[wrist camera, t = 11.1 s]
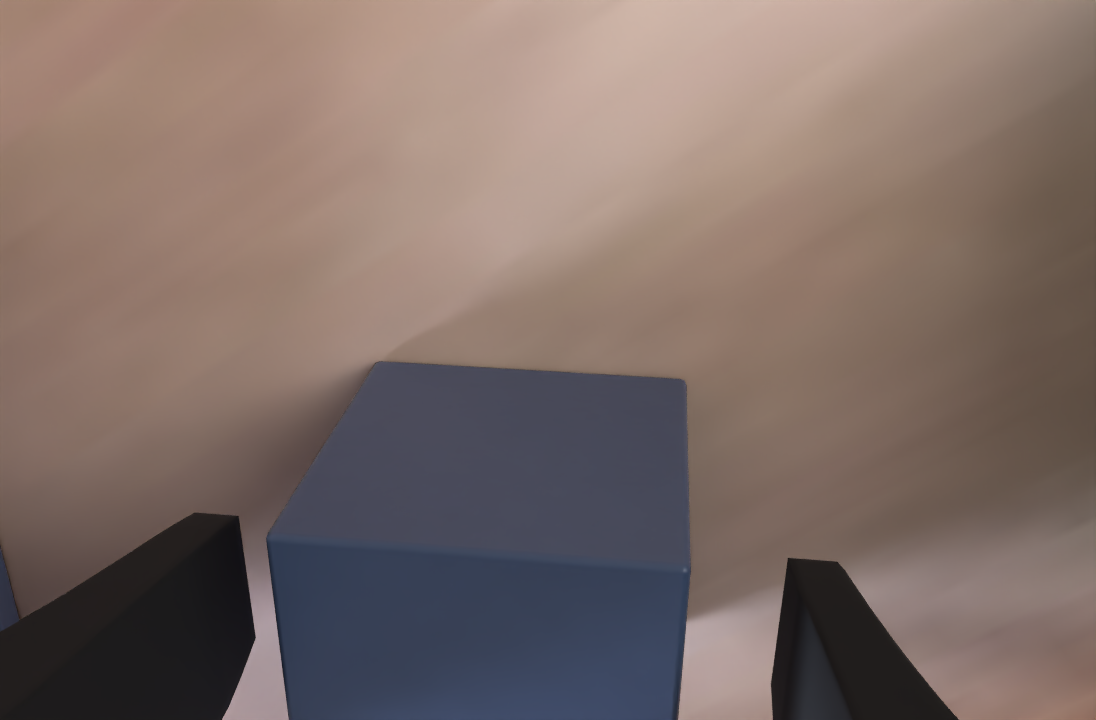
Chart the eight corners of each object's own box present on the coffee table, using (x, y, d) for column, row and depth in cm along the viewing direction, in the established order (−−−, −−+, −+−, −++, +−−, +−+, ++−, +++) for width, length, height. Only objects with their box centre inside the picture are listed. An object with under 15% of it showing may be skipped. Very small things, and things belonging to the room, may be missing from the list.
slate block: (391, 607, 17) (300, 838, 13) (375, 358, 15) (262, 536, 11) (667, 630, 16) (664, 877, 12) (686, 377, 14) (691, 568, 10)
